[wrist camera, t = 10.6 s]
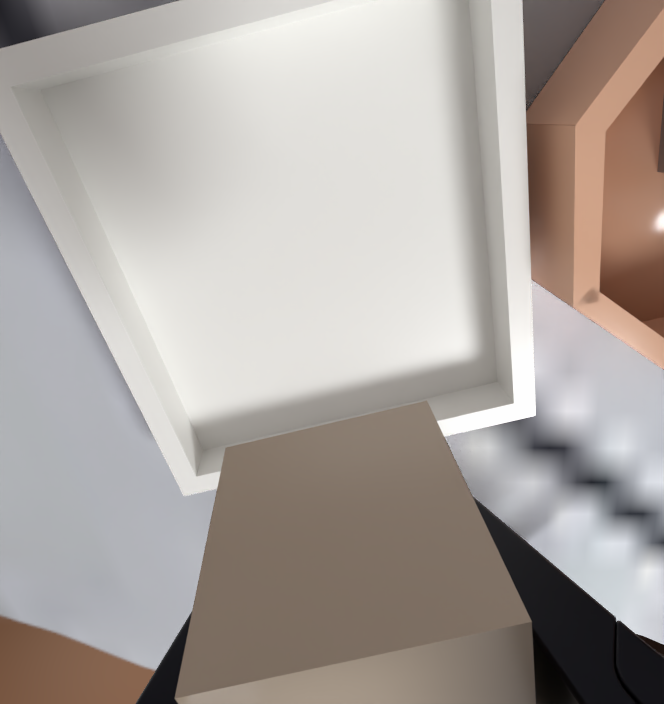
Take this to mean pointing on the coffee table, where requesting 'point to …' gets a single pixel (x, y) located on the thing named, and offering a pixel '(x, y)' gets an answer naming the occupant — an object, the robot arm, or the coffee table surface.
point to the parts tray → (289, 210)
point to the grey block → (661, 145)
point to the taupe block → (353, 576)
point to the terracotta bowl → (603, 176)
